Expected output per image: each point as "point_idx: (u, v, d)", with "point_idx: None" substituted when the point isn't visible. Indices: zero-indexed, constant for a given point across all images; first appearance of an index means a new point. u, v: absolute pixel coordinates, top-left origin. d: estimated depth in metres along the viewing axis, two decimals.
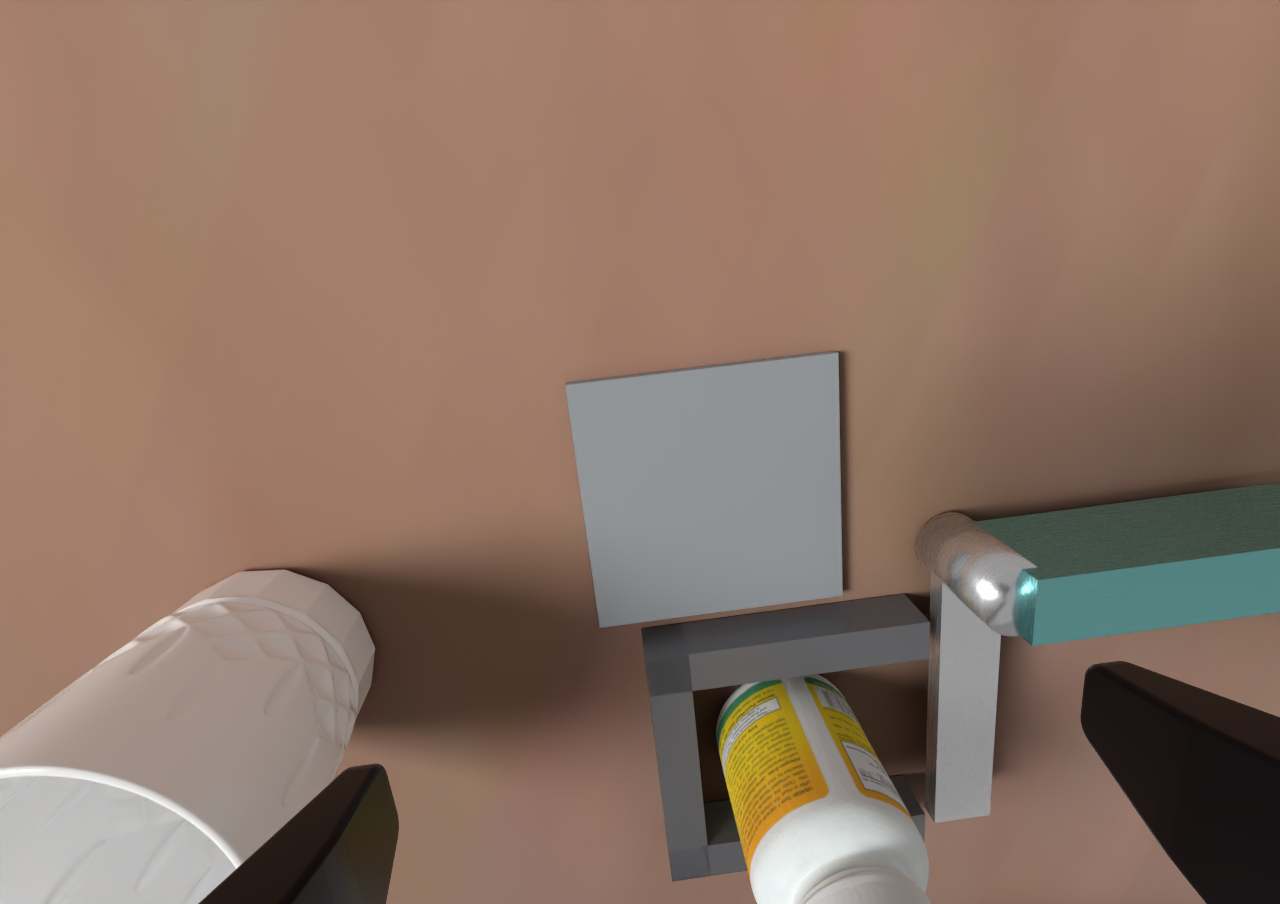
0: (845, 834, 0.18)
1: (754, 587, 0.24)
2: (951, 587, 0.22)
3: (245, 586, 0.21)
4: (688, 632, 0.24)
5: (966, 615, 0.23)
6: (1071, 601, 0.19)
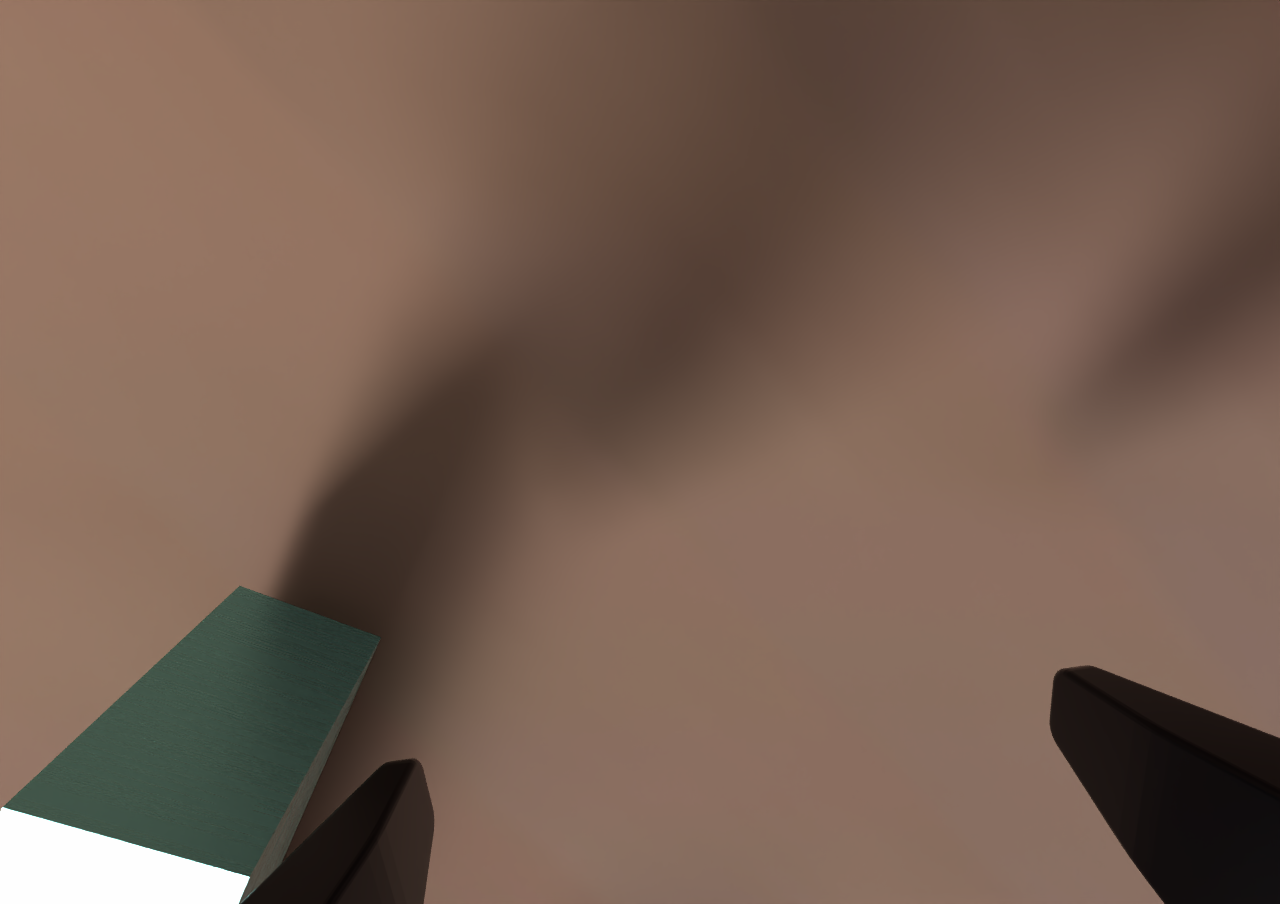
0: None
1: None
2: None
3: None
4: None
5: None
6: None
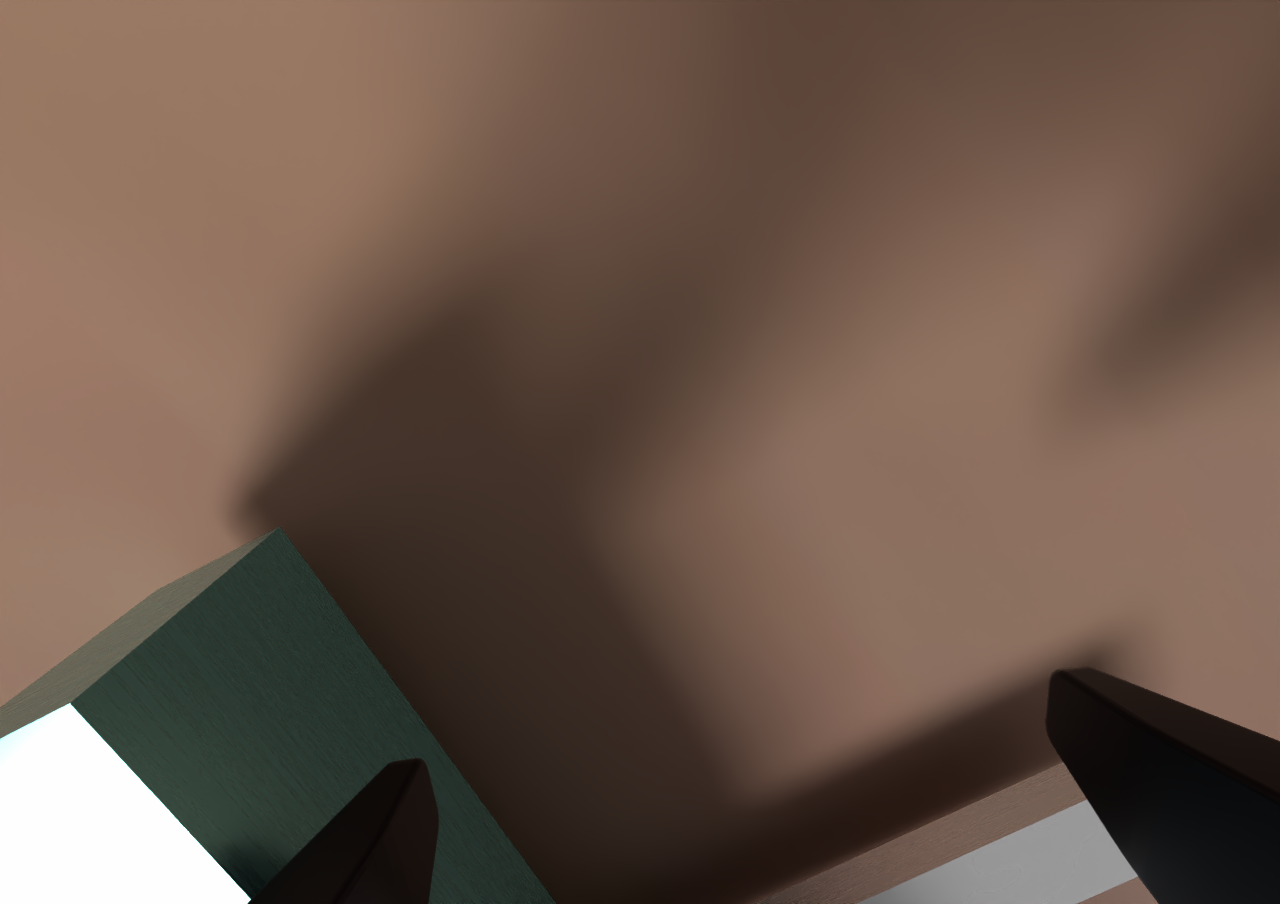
0: None
1: None
2: None
3: None
4: None
5: None
6: None
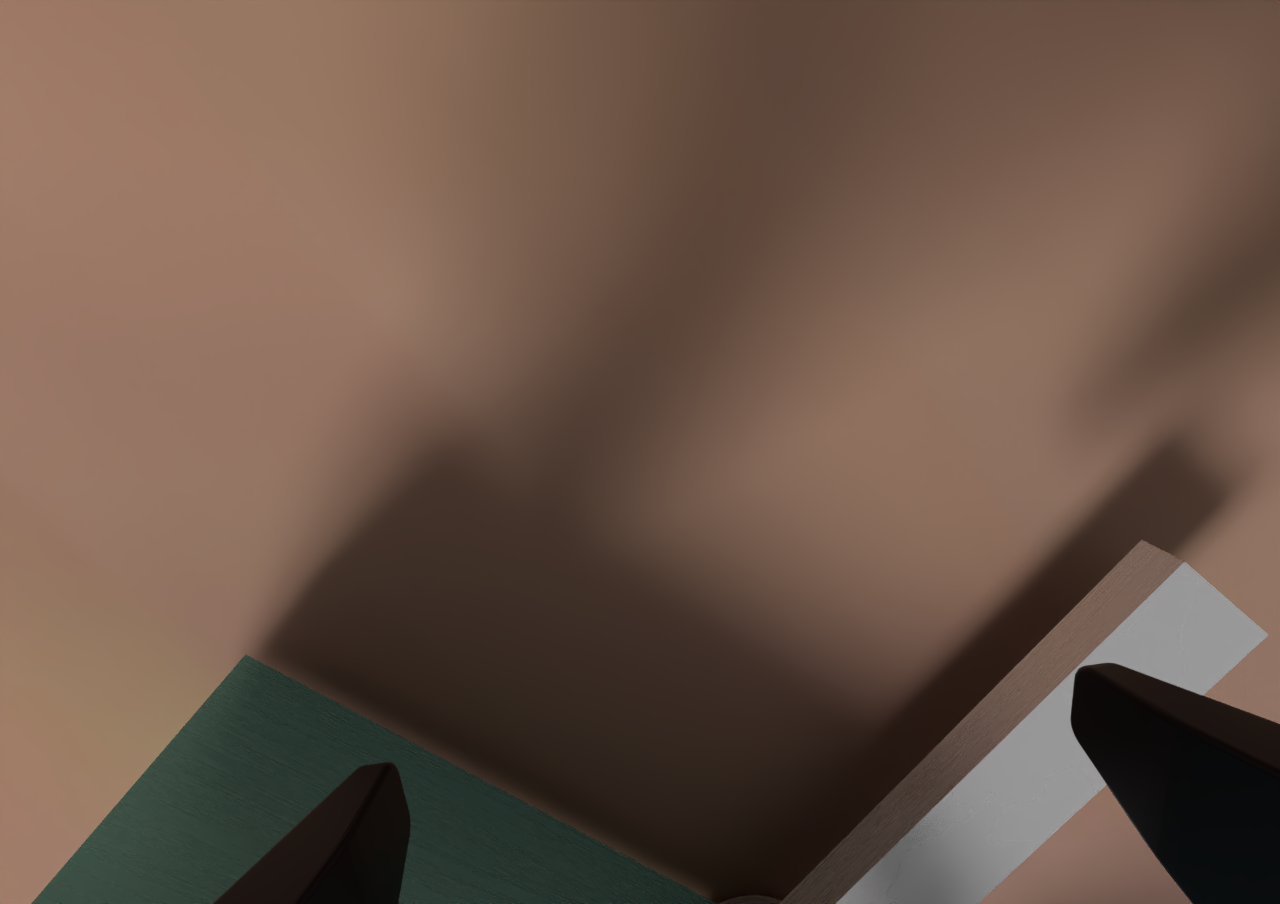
0: None
1: None
2: None
3: None
4: None
5: None
6: None
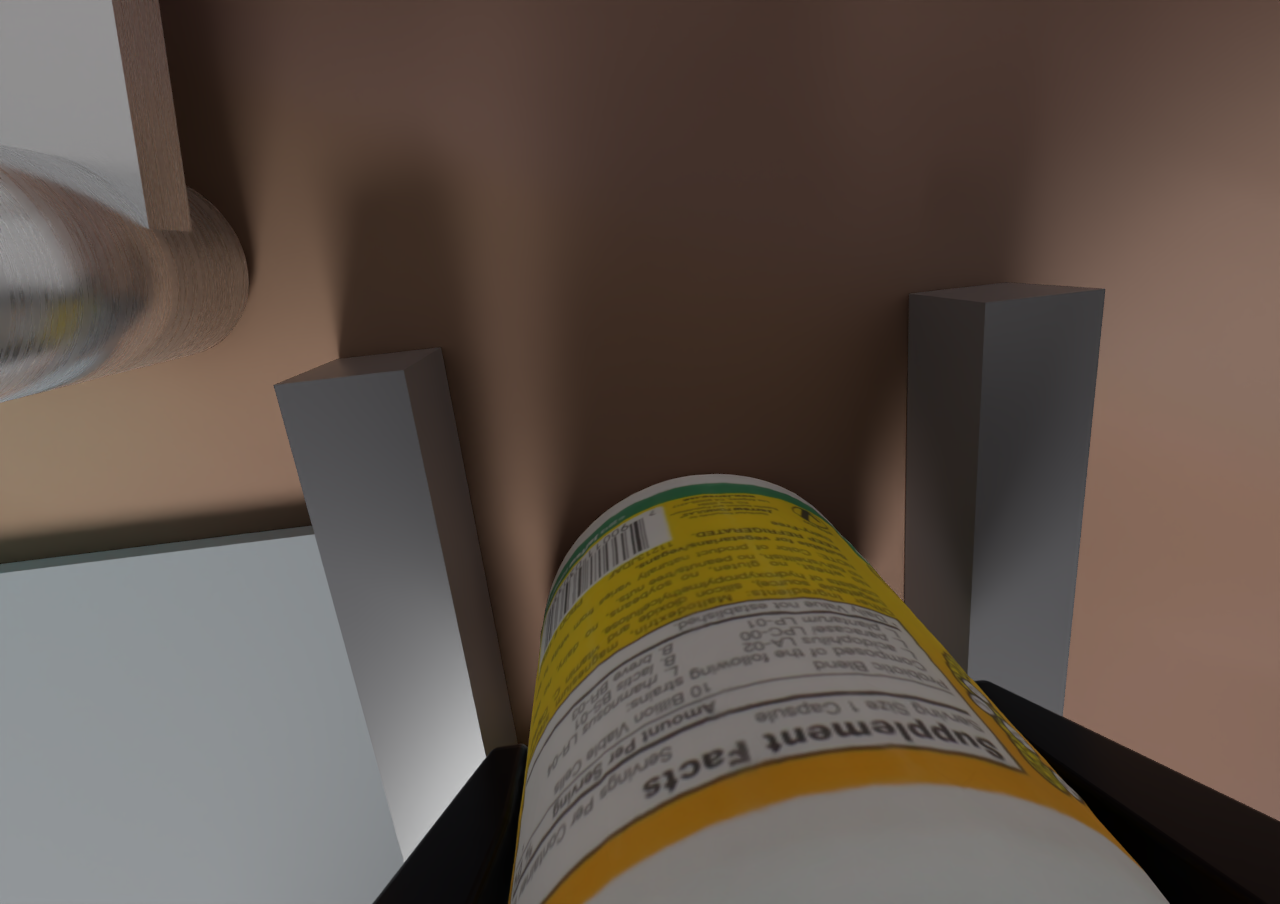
0: None
1: (330, 719, 0.11)
2: (113, 238, 0.06)
3: None
4: None
5: (28, 71, 0.07)
6: None
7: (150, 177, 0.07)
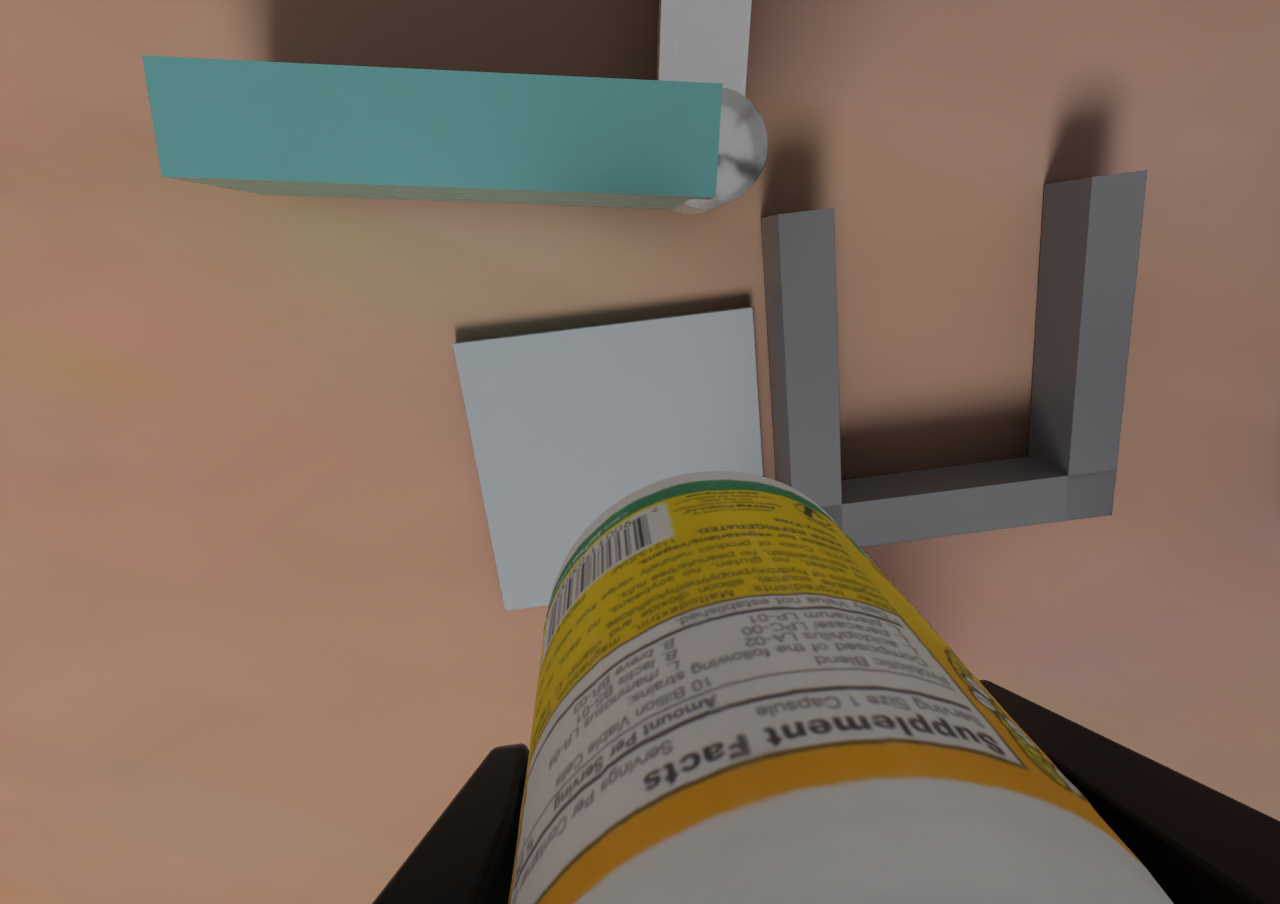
0: None
1: (733, 416, 0.21)
2: None
3: None
4: None
5: (710, 78, 0.16)
6: (667, 152, 0.14)
7: None
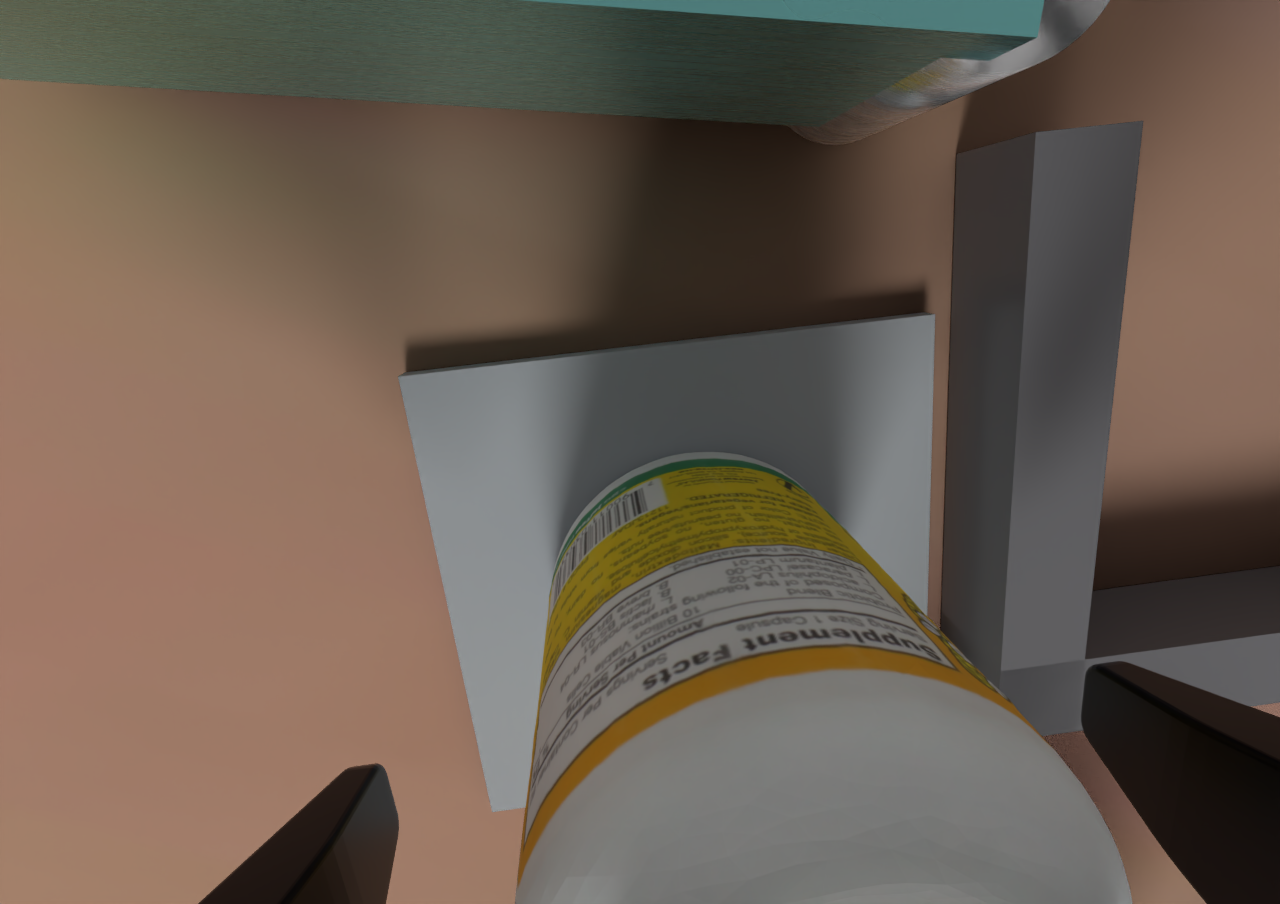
0: None
1: (886, 500, 0.12)
2: None
3: None
4: (959, 621, 0.13)
5: None
6: None
7: None
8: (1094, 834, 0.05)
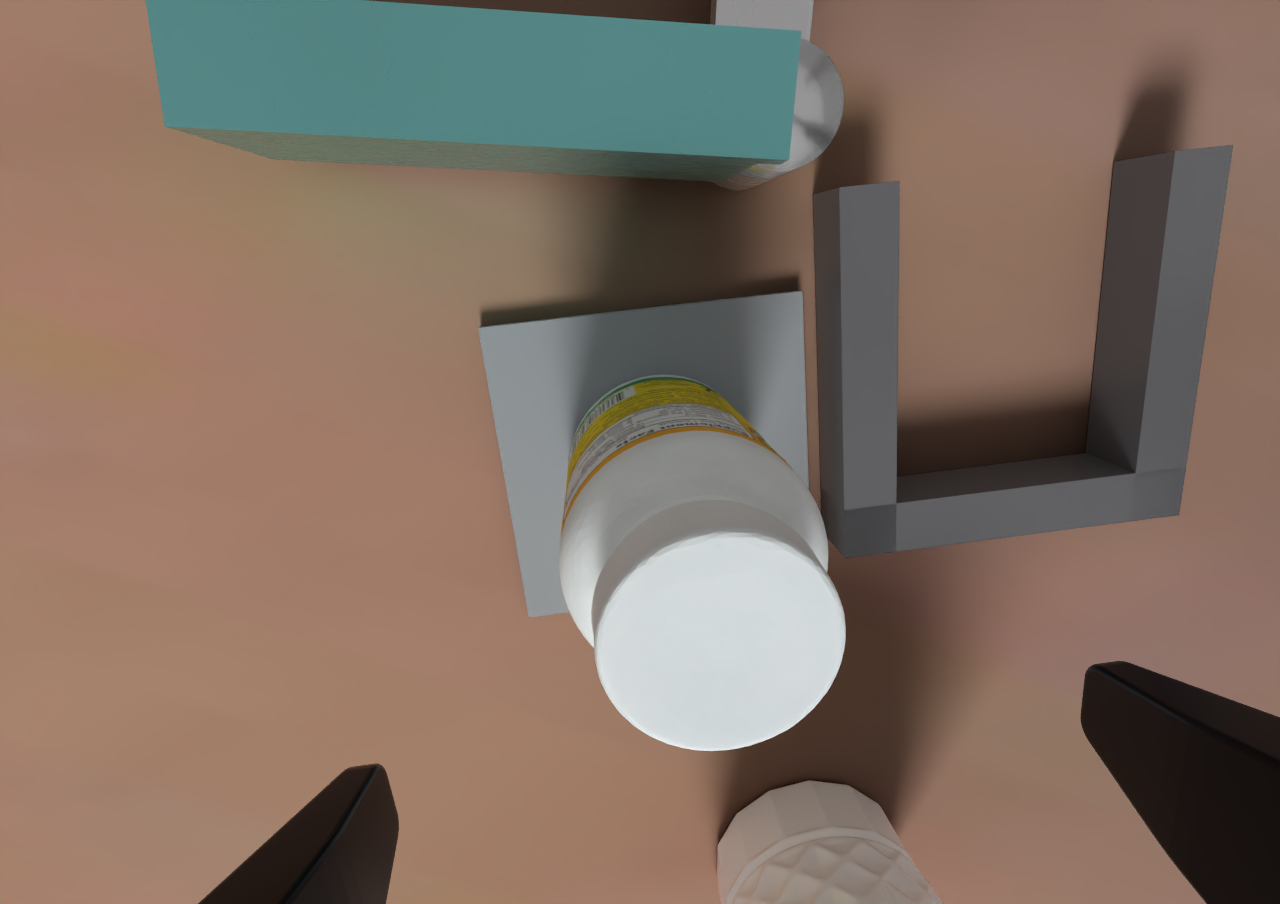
0: (581, 599, 0.12)
1: (778, 408, 0.19)
2: None
3: (722, 891, 0.23)
4: (827, 488, 0.20)
5: None
6: (737, 108, 0.12)
7: None
8: (798, 492, 0.12)
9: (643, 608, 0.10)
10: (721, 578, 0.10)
